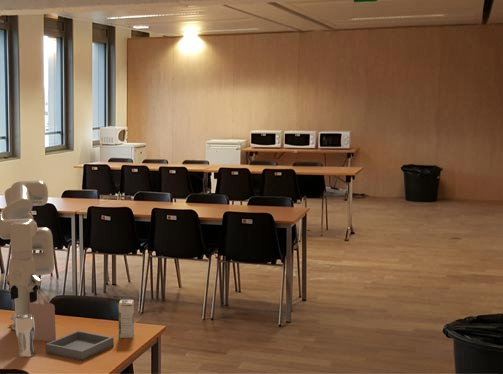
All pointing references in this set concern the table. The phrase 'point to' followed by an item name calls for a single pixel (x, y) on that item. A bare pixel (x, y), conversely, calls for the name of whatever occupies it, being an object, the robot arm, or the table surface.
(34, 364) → the table surface
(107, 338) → the tray
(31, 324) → the beer glass
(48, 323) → the greeting card
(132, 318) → the syrup box
